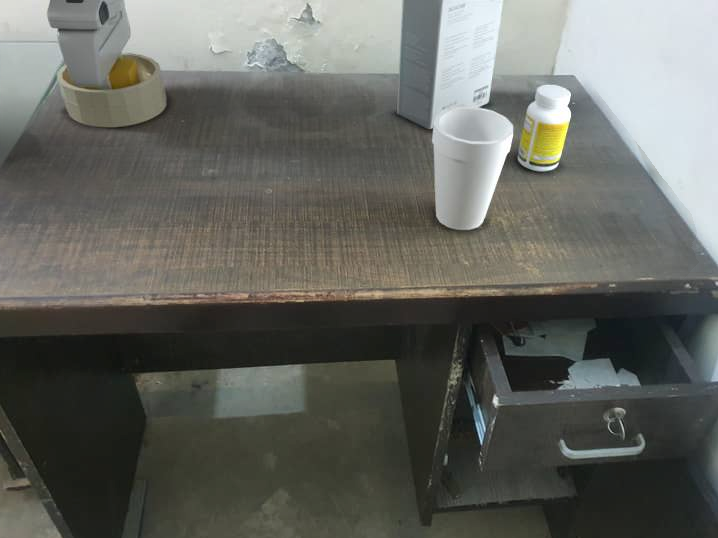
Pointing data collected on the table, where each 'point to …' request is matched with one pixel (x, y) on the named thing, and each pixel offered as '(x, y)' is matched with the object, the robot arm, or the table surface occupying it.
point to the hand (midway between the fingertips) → (113, 90)
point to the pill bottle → (545, 128)
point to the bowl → (116, 97)
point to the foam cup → (468, 163)
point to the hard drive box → (446, 56)
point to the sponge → (122, 75)
